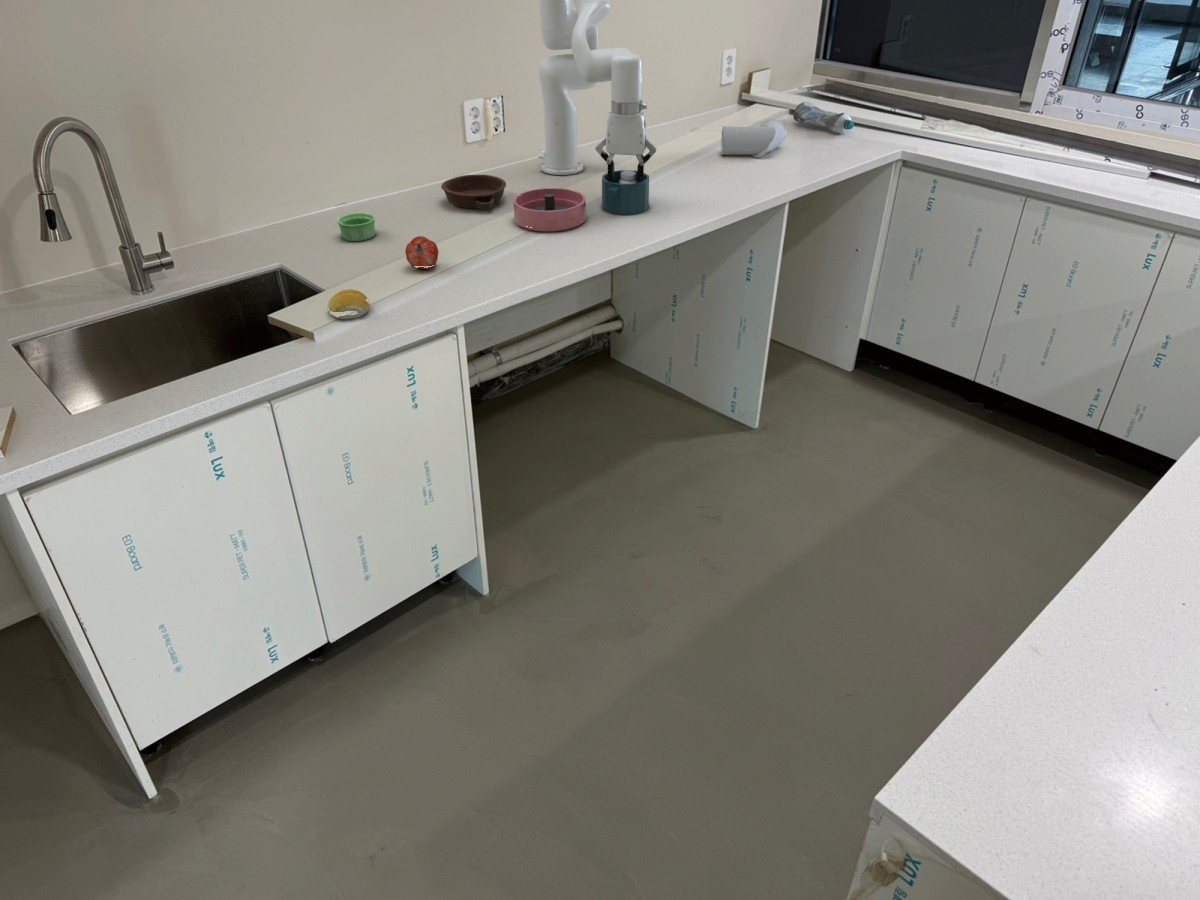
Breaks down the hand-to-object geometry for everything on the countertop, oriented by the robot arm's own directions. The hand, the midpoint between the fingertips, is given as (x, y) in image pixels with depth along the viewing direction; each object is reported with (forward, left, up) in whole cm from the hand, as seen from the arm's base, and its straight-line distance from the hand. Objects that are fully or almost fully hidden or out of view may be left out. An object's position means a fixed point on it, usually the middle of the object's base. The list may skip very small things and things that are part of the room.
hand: (625, 178), depth 221 cm
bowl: (-9, -20, -8) cm, 23 cm away
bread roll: (-5, -86, -8) cm, 87 cm away
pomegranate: (-11, -61, -8) cm, 62 cm away
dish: (-35, -22, -8) cm, 42 cm away
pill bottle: (0, 0, -7) cm, 7 cm away
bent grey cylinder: (-1, +65, -8) cm, 66 cm away
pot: (0, 0, -8) cm, 8 cm away
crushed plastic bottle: (+4, +106, -8) cm, 106 cm away
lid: (-9, -20, -7) cm, 23 cm away
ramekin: (-39, -58, -8) cm, 70 cm away
